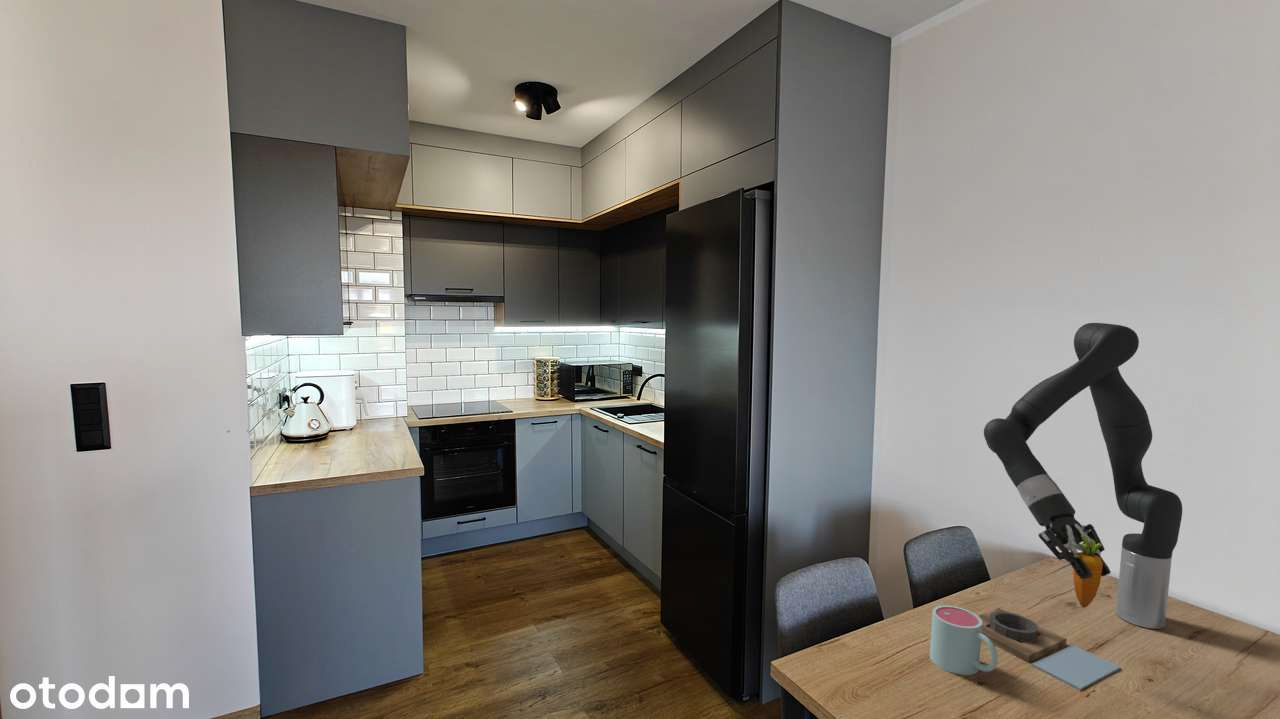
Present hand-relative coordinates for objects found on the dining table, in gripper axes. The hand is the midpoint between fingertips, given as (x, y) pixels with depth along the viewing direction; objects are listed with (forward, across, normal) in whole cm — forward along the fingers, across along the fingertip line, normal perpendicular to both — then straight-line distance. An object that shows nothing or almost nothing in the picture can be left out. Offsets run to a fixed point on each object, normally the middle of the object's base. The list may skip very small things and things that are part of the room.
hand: (1096, 575), depth 119 cm
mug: (+9, -24, +21) cm, 33 cm away
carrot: (+4, 0, +7) cm, 8 cm away
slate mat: (+13, 0, +16) cm, 21 cm away
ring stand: (+4, -2, +25) cm, 26 cm away
